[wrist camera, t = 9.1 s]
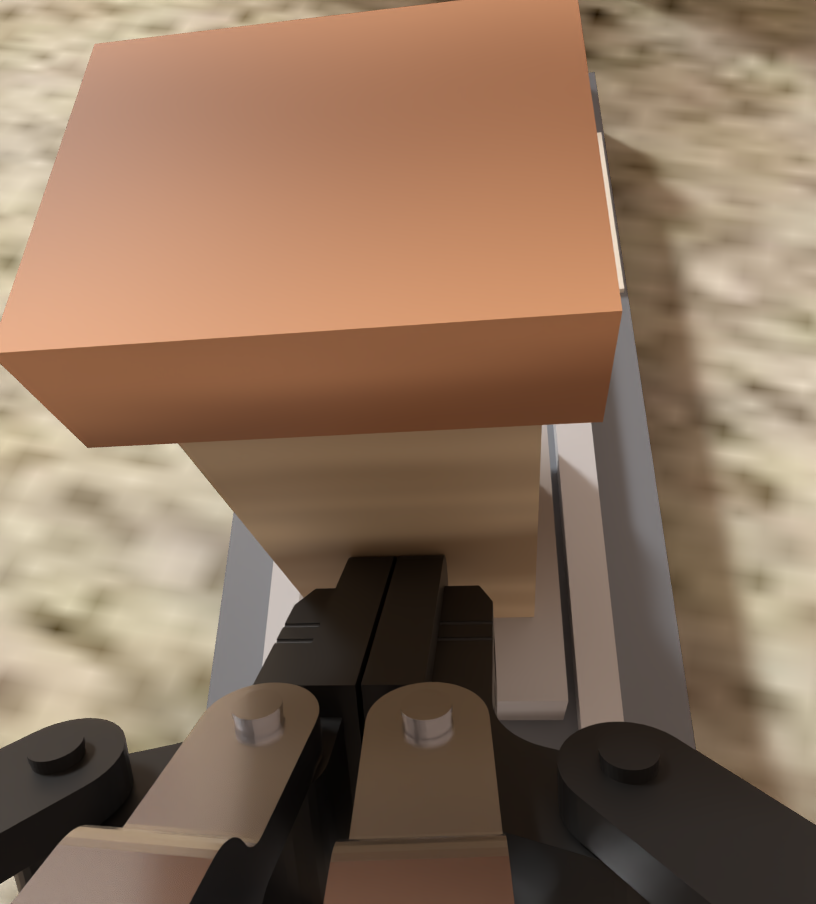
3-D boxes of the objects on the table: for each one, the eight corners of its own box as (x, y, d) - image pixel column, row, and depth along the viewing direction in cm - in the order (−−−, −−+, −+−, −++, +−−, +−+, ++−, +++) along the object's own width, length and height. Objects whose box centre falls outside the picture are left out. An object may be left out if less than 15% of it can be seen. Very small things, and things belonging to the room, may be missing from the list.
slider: (563, 720, 15) (640, 429, 5) (315, 720, 16) (-48, 462, 6) (543, 452, 18) (566, -71, 8) (334, 461, 19) (113, -13, 9)
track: (744, 1249, 13) (826, 1388, 9) (179, 1204, 14) (67, 1312, 11) (589, 125, 26) (599, 10, 23) (304, 152, 27) (273, 49, 24)
